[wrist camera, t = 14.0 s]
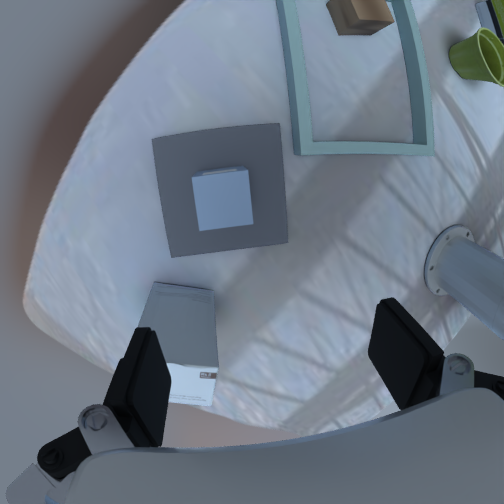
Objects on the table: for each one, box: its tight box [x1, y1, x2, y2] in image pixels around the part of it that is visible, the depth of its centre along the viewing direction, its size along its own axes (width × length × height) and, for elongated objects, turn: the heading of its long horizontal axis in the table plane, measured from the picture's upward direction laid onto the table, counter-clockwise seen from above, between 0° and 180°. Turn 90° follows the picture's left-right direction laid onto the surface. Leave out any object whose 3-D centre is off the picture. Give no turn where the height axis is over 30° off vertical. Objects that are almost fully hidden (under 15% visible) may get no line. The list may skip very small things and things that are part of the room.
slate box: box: [192, 166, 253, 231], centre depth 28 cm, size 5×5×6 cm
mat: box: [152, 123, 288, 258], centre depth 31 cm, size 14×14×1 cm
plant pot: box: [449, 27, 504, 87], centre depth 22 cm, size 9×9×9 cm
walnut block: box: [326, 0, 394, 35], centre depth 22 cm, size 5×5×6 cm
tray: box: [276, 0, 435, 156], centre depth 25 cm, size 19×25×3 cm
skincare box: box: [138, 282, 219, 406], centre depth 29 cm, size 8×6×15 cm
